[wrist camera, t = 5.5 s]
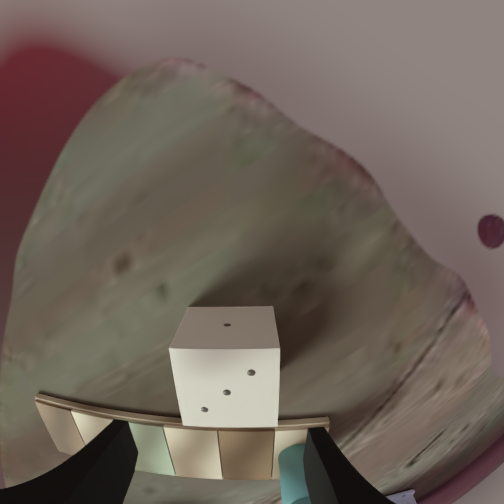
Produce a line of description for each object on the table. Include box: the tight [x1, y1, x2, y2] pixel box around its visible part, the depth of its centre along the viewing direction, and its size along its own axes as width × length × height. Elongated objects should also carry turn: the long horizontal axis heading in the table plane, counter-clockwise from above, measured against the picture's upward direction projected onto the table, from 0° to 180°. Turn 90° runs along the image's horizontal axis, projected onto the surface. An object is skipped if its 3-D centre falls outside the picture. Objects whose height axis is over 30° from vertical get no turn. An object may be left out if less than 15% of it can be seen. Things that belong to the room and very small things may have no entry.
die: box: [169, 306, 280, 428], centre depth 16 cm, size 5×5×5 cm
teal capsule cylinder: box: [278, 444, 311, 504], centre depth 17 cm, size 3×3×7 cm
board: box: [35, 393, 330, 480], centre depth 21 cm, size 24×7×1 cm, turn 90°
